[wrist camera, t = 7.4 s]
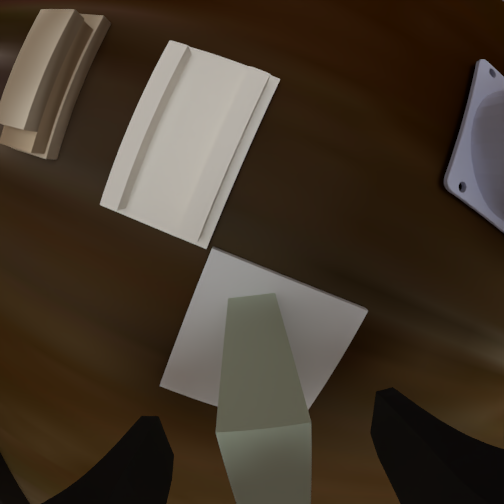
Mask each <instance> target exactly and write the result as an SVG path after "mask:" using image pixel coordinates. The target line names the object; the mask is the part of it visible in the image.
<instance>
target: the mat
mask: <svg viewBox="0 0 504 504" xmlns="http://www.w3.org/2000/svg"><path fill="white" fill-rule="evenodd" d="M269 293H275V294H276V298H277V301H278V305H279V308H280V312H281V315H282V319H283V323H284V326H285V330H286V333H287V337H288V340H289V344H290V347H291V351H292V354H293V358H294V362H295V365H296V369H297V372H298V376H299V380H300V383H301V387H302V390H303V394H304V398H305V401H306V405H307V408H308V409H309V408H310V406H311V405H312V404H313V402H314V401H315V399H316V398H317V396H318V394H319V393H320V391H321V390H322V388H323V387H324V385H325V384H326V382H327V381H328V379H329V377H330V376H331V374H332V373H333V371H334V369H335V368H336V366H337V364H338V363H339V361H340V360H341V358H342V356H343V355H344V353H345V351H346V349H347V348H348V346H349V344H350V343H351V341H352V339H353V337H354V336H355V334H356V332H357V330H358V329H359V327H360V325H361V323H362V321H363V320H364V318H365V316H366V314H367V312H368V310H367V309H366V308H365V307H363V306H360V305H358V304H355V303H353V302H350V301H348V300H345V299H342V298H340V297H337V296H335V295H332V294H330V293H327V292H325V291H322V290H320V289H317V288H315V287H312V286H310V285H307V284H305V283H302V282H300V281H297V280H295V279H293V278H290V277H288V276H285V275H283V274H280V273H278V272H275V271H273V270H270V269H268V268H265V267H263V266H260V265H258V264H255V263H253V262H250V261H248V260H246V259H243V258H241V257H238V256H236V255H233V254H231V253H228V252H226V251H223V250H221V249H218V248H216V247H214V246H213V247H212V250H211V252H210V255H209V257H208V259H207V262H206V264H205V267H204V269H203V272H202V275H201V277H200V280H199V282H198V285H197V287H196V290H195V292H194V295H193V297H192V300H191V303H190V305H189V308H188V310H187V313H186V316H185V318H184V321H183V323H182V326H181V329H180V331H179V334H178V337H177V339H176V342H175V345H174V347H173V350H172V353H171V355H170V358H169V361H168V364H167V366H166V369H165V372H164V375H163V377H162V380H161V383H160V386H161V387H163V388H166V389H169V390H171V391H174V392H177V393H179V394H182V395H185V396H188V397H190V398H193V399H196V400H199V401H202V402H205V403H208V404H211V405H214V406H217V407H218V399H219V388H220V377H221V367H222V356H223V346H224V336H225V326H226V316H227V306H228V298H235V297H244V296H253V295H261V294H269Z"/></svg>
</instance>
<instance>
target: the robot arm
mask: <svg viewBox="0 0 504 504" xmlns="http://www.w3.org/2000/svg"><path fill="white" fill-rule="evenodd" d="M489 72H490V73H491V75H490V73H489ZM460 183H461V185H462V189H461V191H459V184H460ZM444 186H445V188H446V189H447V190H448V191H449V192H450V193H452V194H453V195H454V196H456V197H457V198H459V199H460V200H461V201H463V202H464V203H465V204H467V205H468V206H469V207H471V208H472V209H473V210H475V211H476V212H477V213H479V214H480V215H481V216H483V217H484V218H485V219H486V220H488V221H489V222H490V223H492V224H493V225H494V226H495V227H496V228H498V229H499V230H500V231H501V232H503V233H504V77H503V76H502V75H501V74H500V73H499V72H498V71H497V70H496V69H495V68H494V67H493V66H492V65H491V64H490V63H489V62H487V61H486V60H485V59H481V60H479V61H477V63H476V66H475V71H474V76H473V80H472V85H471V89H470V93H469V97H468V101H467V105H466V109H465V113H464V116H463V120H462V123H461V127H460V130H459V134H458V137H457V140H456V143H455V147H454V150H453V153H452V156H451V159H450V162H449V165H448V168H447V171H446V173H445V176H444ZM370 433H371V436H372V439H373V443H374V446H375V449H376V452H377V455H378V457H379V459H380V462H381V464H382V466H383V468H384V470H385V472H386V474H387V476H388V478H389V480H390V482H391V484H392V486H393V489H394V491H395V493H396V495H397V497H398V499H399V501H400V503H401V504H504V449H501V448H498V447H495V446H492V445H489V444H486V443H484V442H481V441H479V440H477V439H474V438H472V437H470V436H468V435H466V434H464V433H462V432H460V431H458V430H456V429H454V428H453V427H451V426H449V425H447V424H445V423H444V422H442V421H441V420H439V419H437V418H436V417H434V416H433V415H431V414H430V413H428V412H427V411H425V410H424V409H422V408H421V407H419V406H418V405H417V404H415V403H414V402H412V401H411V400H409V399H408V398H407V397H405V396H404V395H403V394H401V393H400V392H398V391H397V390H396V389H394V388H393V387H392V388H389V389H385V390H381V391H376V397H375V405H374V412H373V419H372V426H371V432H370ZM173 459H174V454H173V452H172V450H171V447H170V445H169V442H168V440H167V437H166V435H165V432H164V430H163V427H162V424H161V422H160V419H159V417H158V416H141V417H140V419H139V420H138V421H137V422H136V423H135V424H134V425H133V426H132V427H131V428H130V430H129V431H128V432H127V433H126V434H125V435H124V436H123V437H122V438H121V439H120V441H119V442H118V443H117V444H116V445H115V446H114V447H113V448H112V449H111V450H110V451H109V452H108V453H107V454H106V455H105V456H104V457H103V458H102V459H101V460H100V461H99V462H98V463H97V464H96V465H95V466H94V467H93V468H92V469H91V470H89V471H88V472H87V473H86V474H85V475H84V476H83V477H81V478H80V479H79V480H77V481H76V482H75V483H73V484H72V485H71V486H69V487H68V488H67V489H65V490H64V491H62V492H61V493H59V494H57V495H55V496H54V497H52V498H50V499H49V500H47V501H45V502H43V503H42V504H166V503H167V498H168V494H169V490H170V485H171V481H172V472H173Z"/></svg>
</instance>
